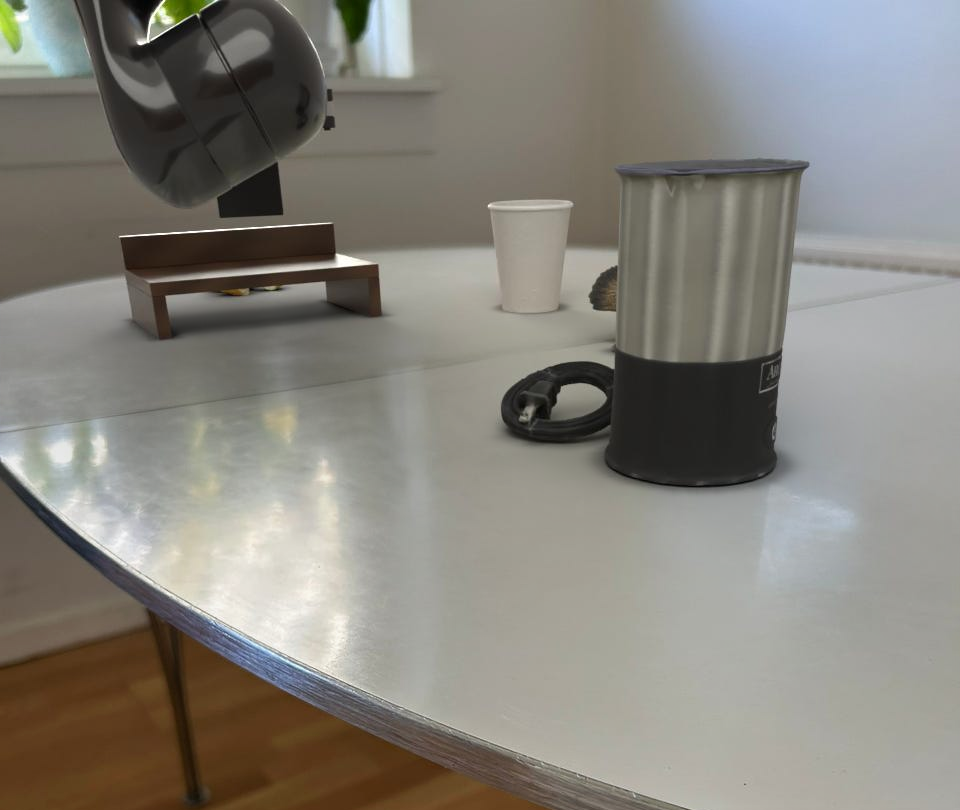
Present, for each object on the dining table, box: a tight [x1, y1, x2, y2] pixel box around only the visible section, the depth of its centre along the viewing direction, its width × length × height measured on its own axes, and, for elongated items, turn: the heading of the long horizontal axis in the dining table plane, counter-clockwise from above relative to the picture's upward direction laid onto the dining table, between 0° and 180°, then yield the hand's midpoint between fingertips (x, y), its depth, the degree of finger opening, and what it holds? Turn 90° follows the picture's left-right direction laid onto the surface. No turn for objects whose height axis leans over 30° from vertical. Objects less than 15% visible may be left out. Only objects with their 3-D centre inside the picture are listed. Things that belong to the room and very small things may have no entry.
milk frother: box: [500, 157, 811, 487], centre depth 53 cm, size 14×16×15 cm
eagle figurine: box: [587, 264, 618, 353], centre depth 82 cm, size 8×7×9 cm
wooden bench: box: [118, 222, 383, 341], centre depth 99 cm, size 22×13×8 cm, turn 117°
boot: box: [216, 161, 284, 219], centre depth 78 cm, size 9×5×9 cm, turn 10°
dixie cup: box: [487, 199, 574, 314], centre depth 99 cm, size 8×8×10 cm
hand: (240, 114), depth 77 cm, fingers closed on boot, 4 cm apart
